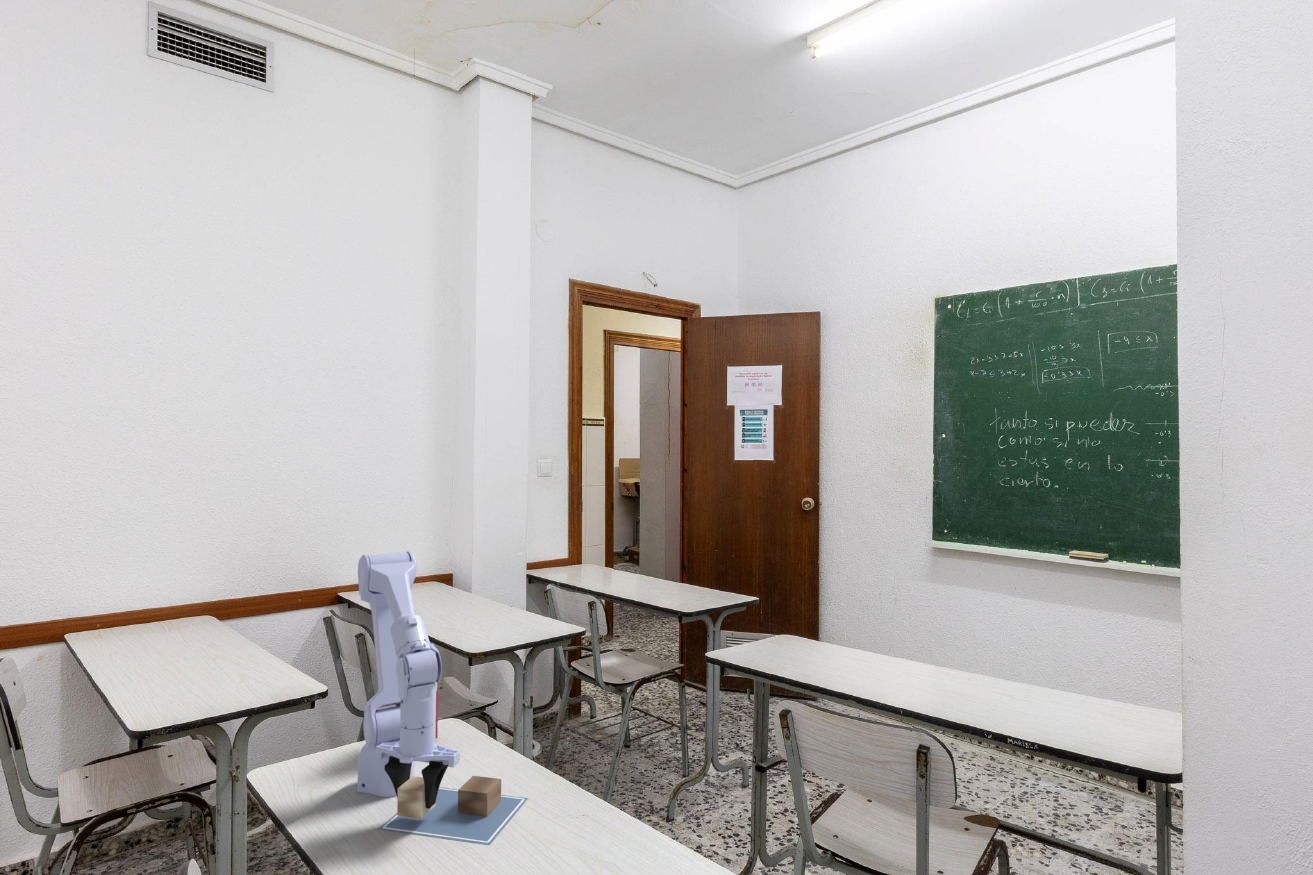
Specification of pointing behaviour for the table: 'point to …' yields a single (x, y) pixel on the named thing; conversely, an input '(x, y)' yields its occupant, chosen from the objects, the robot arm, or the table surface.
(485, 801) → the walnut block
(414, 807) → the maple cube
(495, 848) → the table surface
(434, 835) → the board
